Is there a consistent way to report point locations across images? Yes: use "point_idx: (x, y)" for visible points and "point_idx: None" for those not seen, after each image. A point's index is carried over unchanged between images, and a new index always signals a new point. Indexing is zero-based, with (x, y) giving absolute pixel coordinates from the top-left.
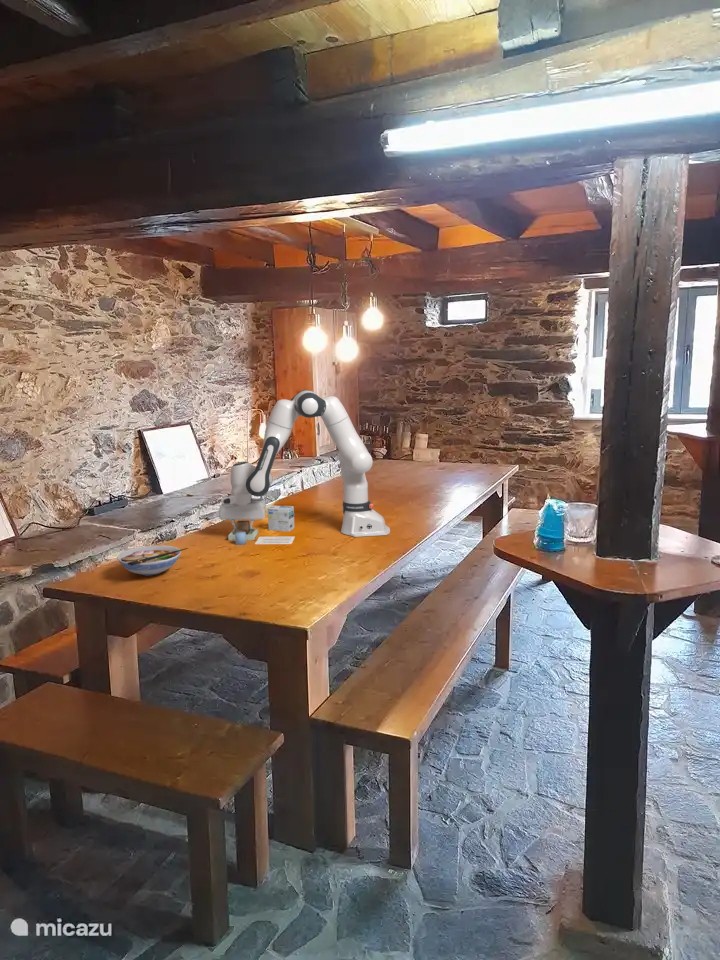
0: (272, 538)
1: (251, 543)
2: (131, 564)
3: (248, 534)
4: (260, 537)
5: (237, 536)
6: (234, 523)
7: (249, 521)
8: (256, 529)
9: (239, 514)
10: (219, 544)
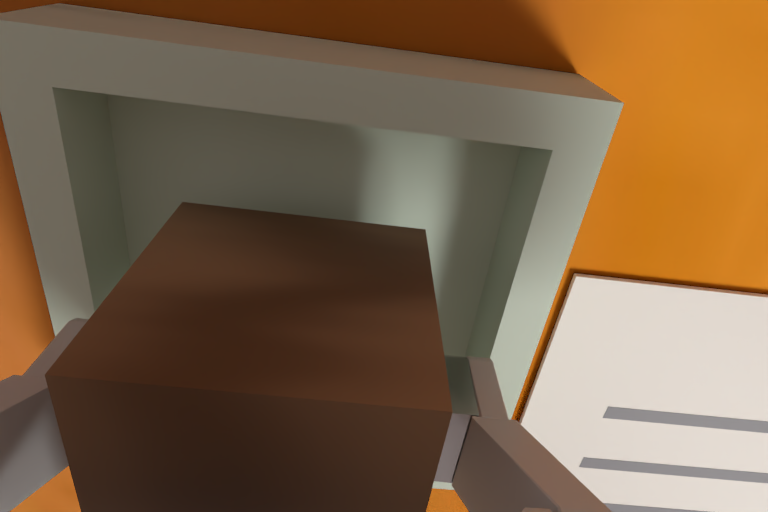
0: (746, 384)
1: (444, 501)
2: None
3: (388, 183)
4: (585, 320)
5: None
6: (23, 464)
7: (447, 391)
8: (578, 172)
9: None
10: (67, 493)
